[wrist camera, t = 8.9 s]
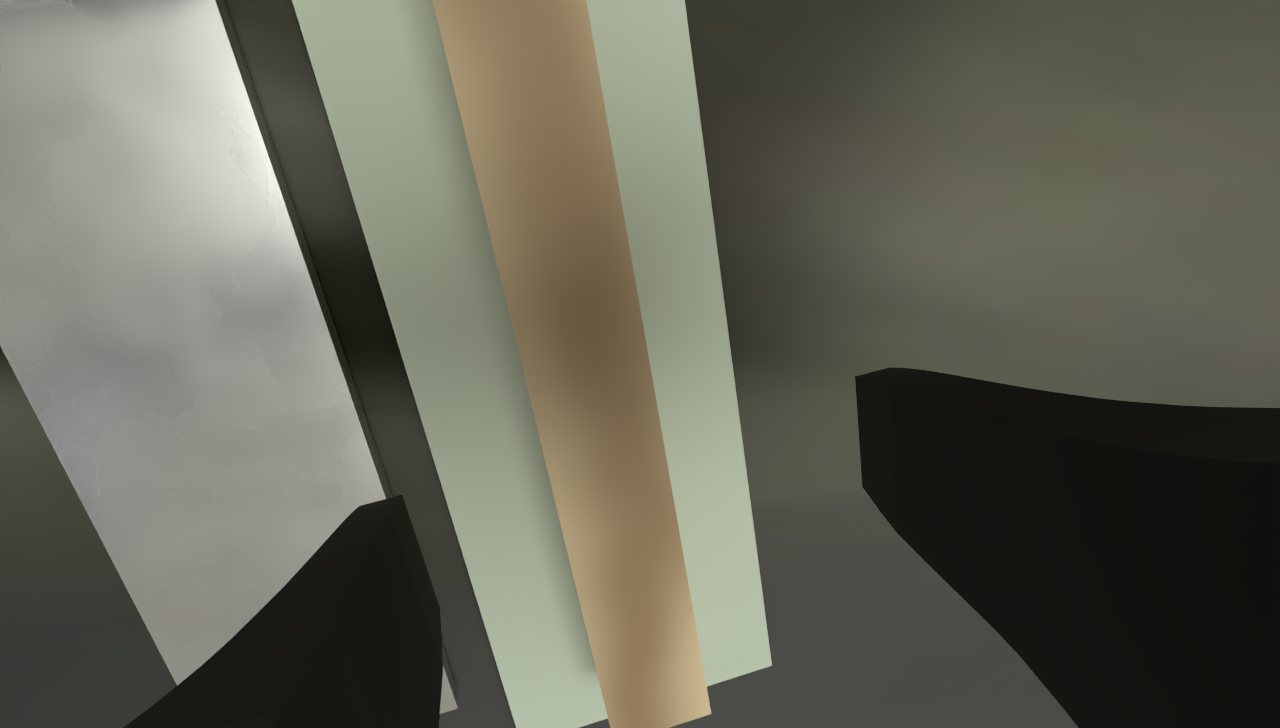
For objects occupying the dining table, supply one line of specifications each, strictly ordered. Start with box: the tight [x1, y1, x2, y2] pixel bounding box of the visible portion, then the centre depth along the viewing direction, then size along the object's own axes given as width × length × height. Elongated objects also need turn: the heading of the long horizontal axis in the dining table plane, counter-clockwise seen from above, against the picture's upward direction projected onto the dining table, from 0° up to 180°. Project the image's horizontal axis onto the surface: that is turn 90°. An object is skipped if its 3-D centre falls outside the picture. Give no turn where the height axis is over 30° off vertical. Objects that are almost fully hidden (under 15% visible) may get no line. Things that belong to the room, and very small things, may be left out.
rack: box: [0, 0, 458, 714], centre depth 16 cm, size 7×23×6 cm, turn 9°
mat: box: [292, 0, 772, 728], centre depth 20 cm, size 9×28×1 cm, turn 9°
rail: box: [432, 0, 711, 728], centre depth 19 cm, size 3×24×3 cm, turn 9°
